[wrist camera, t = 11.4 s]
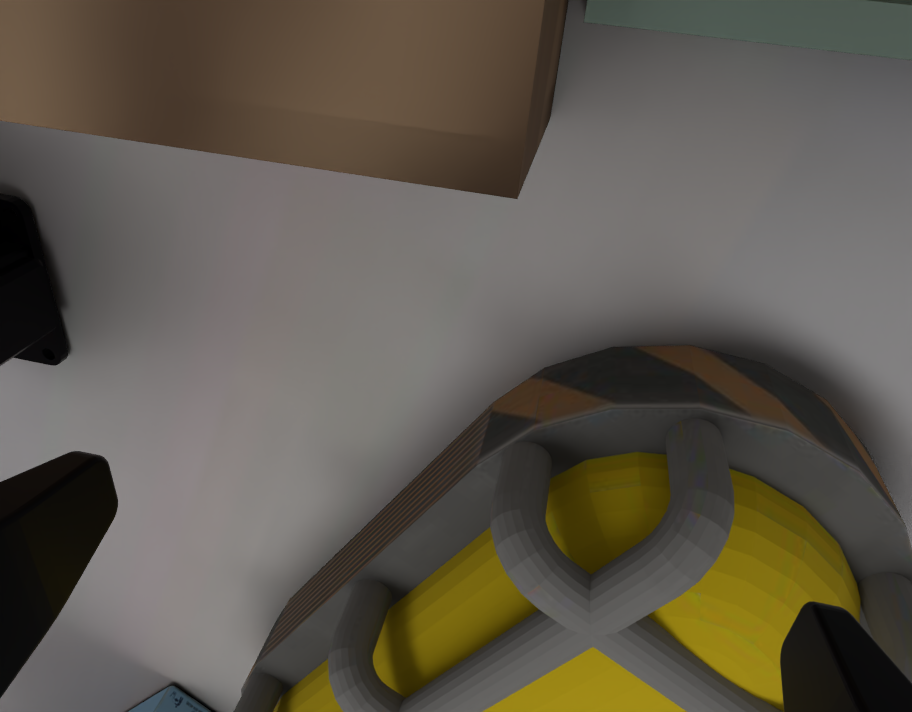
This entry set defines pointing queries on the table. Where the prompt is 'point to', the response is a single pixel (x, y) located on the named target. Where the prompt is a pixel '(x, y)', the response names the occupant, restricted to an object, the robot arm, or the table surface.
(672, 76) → the table surface
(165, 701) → the gum box
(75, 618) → the table surface
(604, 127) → the table surface
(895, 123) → the table surface
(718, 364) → the cage light
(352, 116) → the brown open lidded box
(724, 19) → the tray
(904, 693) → the robot arm
